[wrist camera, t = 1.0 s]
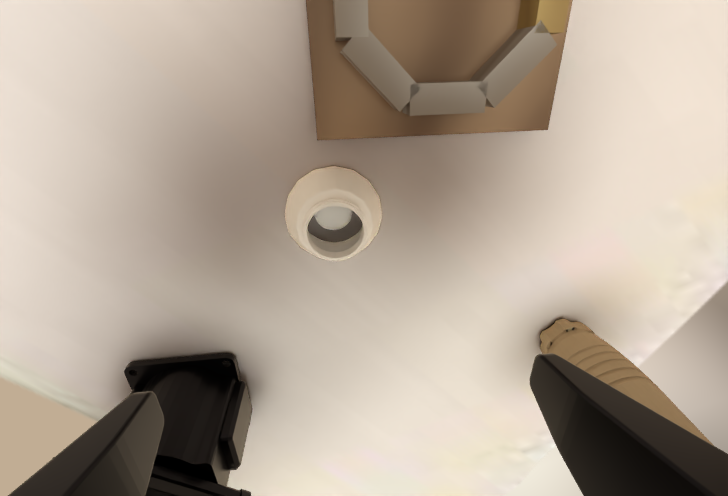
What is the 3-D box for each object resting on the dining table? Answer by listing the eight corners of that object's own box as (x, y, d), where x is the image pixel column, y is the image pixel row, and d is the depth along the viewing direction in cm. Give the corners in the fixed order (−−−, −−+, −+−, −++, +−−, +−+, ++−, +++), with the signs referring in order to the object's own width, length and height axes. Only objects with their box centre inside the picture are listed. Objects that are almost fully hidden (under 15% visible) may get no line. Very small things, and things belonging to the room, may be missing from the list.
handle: (511, 320, 24) (757, 640, 10) (605, 294, 24) (978, 584, 10) (516, 371, 26) (723, 690, 13) (602, 347, 26) (905, 644, 12)
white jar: (397, 198, 19) (319, 145, 18) (409, 218, 17) (319, 157, 15) (345, 267, 21) (269, 223, 19) (349, 294, 18) (260, 247, 17)
